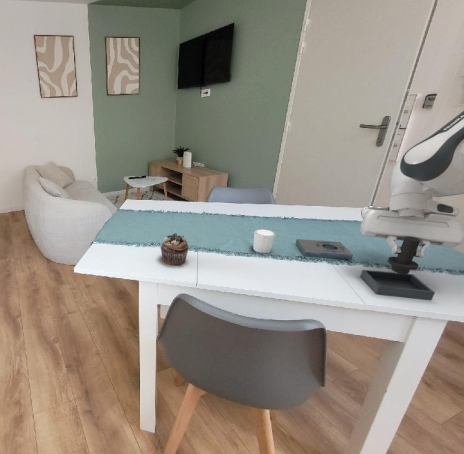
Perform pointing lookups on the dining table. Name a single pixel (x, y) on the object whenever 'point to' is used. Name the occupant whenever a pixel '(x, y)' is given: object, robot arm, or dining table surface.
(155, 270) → the dining table surface
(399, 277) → the dark grey tray
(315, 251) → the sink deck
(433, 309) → the dining table surface
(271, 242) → the white cylinder
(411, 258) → the plug
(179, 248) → the cupcake
